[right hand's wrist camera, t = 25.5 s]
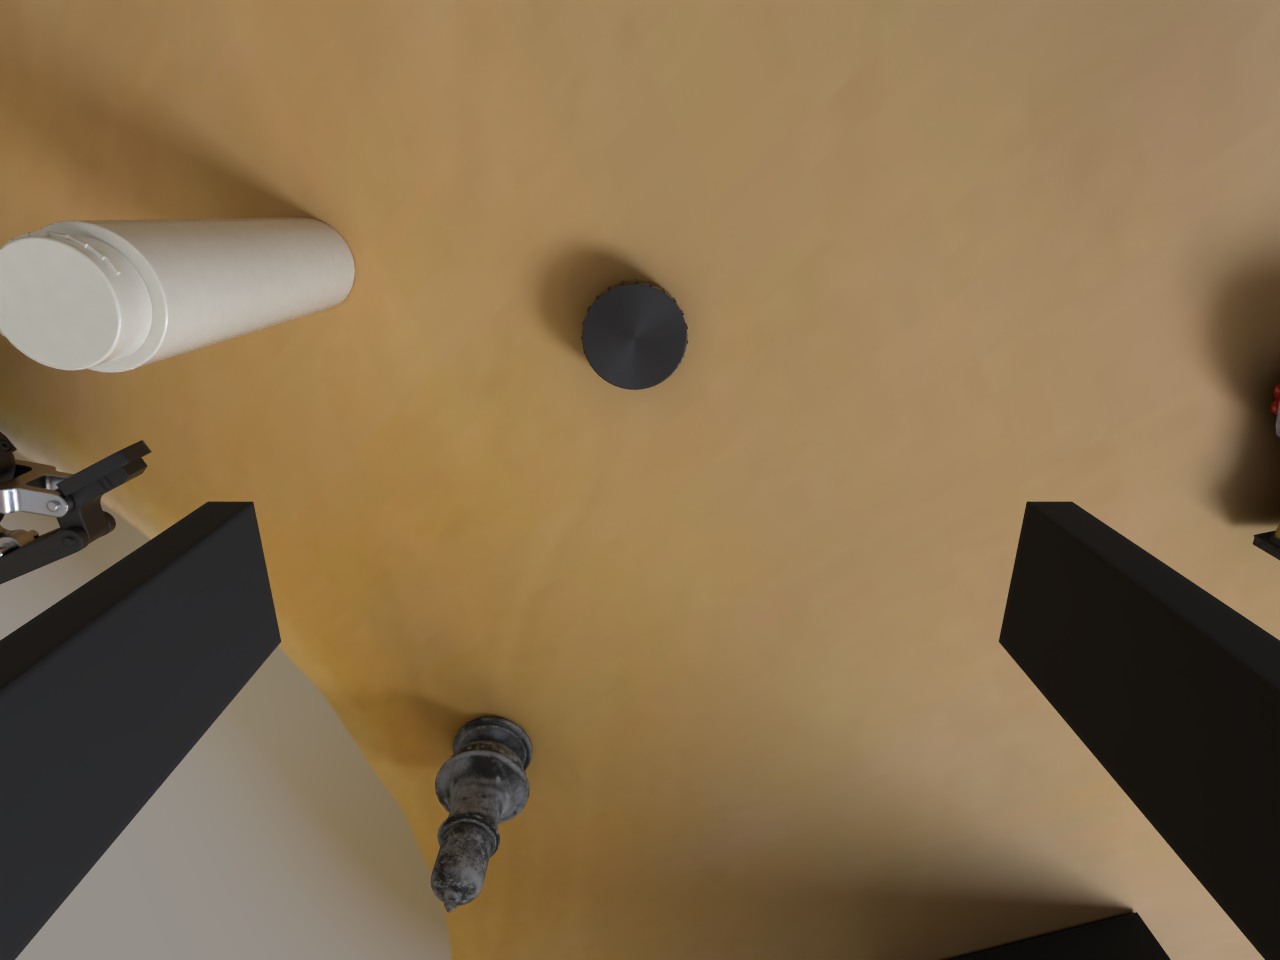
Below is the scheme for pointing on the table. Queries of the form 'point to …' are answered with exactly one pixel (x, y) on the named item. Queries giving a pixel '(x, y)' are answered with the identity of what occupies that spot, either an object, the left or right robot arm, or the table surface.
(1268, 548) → the toy gun
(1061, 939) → the cardboard box
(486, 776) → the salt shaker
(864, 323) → the table surface
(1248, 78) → the table surface
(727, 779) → the table surface
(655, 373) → the lid
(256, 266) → the jar
